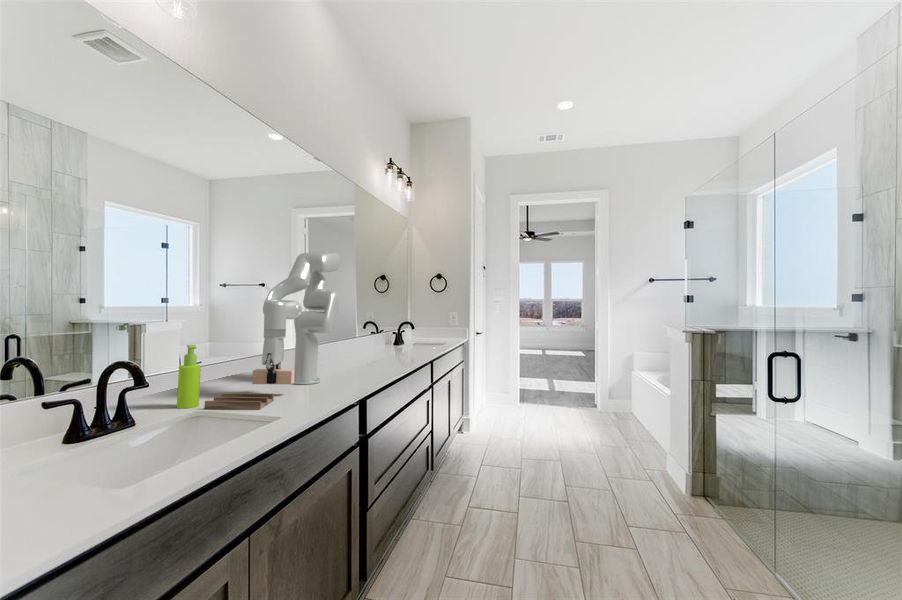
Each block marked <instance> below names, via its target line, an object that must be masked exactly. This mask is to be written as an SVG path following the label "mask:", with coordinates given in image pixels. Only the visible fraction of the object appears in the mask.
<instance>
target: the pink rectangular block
mask: <svg viewBox="0 0 902 600" xmlns="http://www.w3.org/2000/svg"><path fill="white" fill-rule="evenodd" d="M294 370H295V369H293V368H290V369H289V368H281V369H276V371H275V373H276V383H275V384H274V385H294V384H293V383H294ZM251 373H252V378H251V379H252V380H251V384H252V385H268V384H267V369H266V368H256V369H253V370H252V372H251Z"/></svg>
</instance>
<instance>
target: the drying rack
mask: <svg viewBox="0 0 902 600" xmlns="http://www.w3.org/2000/svg"><path fill="white" fill-rule="evenodd" d="M274 397H275V395H274V393H258V392H257V393H254V392H253V393H249V392H248V393H247V392H246V393H243V392H241V393H239V392H222V393H221V396H214V397H213V399H212V400H204V406H203V407H204V410H251V411H253V410H262V409H263V408H265V407H266V406H268V405H269V404H271V403H273V402H274Z"/></svg>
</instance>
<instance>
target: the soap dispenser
mask: <svg viewBox="0 0 902 600" xmlns="http://www.w3.org/2000/svg"><path fill="white" fill-rule="evenodd" d="M186 347H187V354H185V355H183V357H184V358H183V365H179V366H178V376H177V377H178V380H177V398H176V399H177V400H176V408H177V409H180V410H181V409H183V410H184V409H192V408H193V409H194V408H196V407H197V408H198V407H199V405H200V390H201V389H200V386H201V372H202V371H201V370H202V369H201V367H202V366H201V365H200V364H197V361H198V360H197V357H198V355H197V354H195V350H196V349H197V345H196V344H186Z"/></svg>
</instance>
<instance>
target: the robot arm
mask: <svg viewBox="0 0 902 600" xmlns="http://www.w3.org/2000/svg"><path fill="white" fill-rule="evenodd" d="M341 263H342V261H341V256H340V255H339V254H338V253H337V252H324V251H322V252H321V251H318V252H317V251H316V252H315V251H312V252H310V251H309V252H302V253H300V254H298V256H297V257H296V259H295V261H294V262H293V265H292V268H291V270H290V272H289V274H288V276H287V277H286V278H285V279H283V280H281V281H280V282H279V283H278V284H276V285H275V286H273V287H272V289H270V290H269V292H268V293H267V295H266V298H265V300H264V303H263V305H262V313H263V339H264V340H263V344H262V345H263V346H262V356H261V364H262V365H263V366H264V365H265V369H267V384H266V385H276V384H275V383H276V373H275V371H276V369H282V368H281V366H282V365H281V364H282V362H283V361H284V359H285V344H284V343H285V341H284V340H285V338H286V337H287V336H286V330H287V328H286V327H287V321H286V320H293V324H294V331H295V348H294V349H295V350H294V369H295V370H294V383H293V384H292V385H314V384H317V383H321V378H319V377H318V358H319V355H318V354H319V341H318V339H317V337H316V335H315V334H330V333H332V332H333V331H334V328H335V325H336V321H337V317H338V312H339V307H340V296H339V294H338V292H337V291H335V290H331V289H329V290H328V289H327V284H328V281H327V279H326V277H325V275H324V274H323V273H331V272H336V271H338V270H339V269H340V267H341ZM303 290H305V292H304V294H303V295H304V296H303V301H302V304H301V303H300V302H298V301H296V300H292V299H291V300H288V299H284V298H286V297H287V296H289V295H292V294H295V293H298V292H300V291H303ZM302 305H303V307H304V308H305V309H306V310H304V311H303V308H302Z"/></svg>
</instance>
